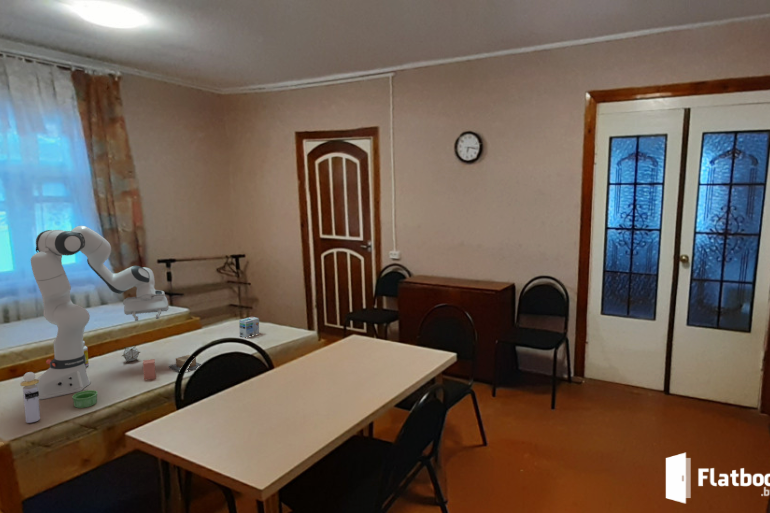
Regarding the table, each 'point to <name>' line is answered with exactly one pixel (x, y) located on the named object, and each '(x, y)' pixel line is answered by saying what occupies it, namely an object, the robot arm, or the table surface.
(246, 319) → the light bulb box
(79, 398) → the ramekin
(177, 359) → the tower base
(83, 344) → the supplement bottle
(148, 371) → the red block
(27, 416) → the perfume bottle
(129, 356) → the game die
